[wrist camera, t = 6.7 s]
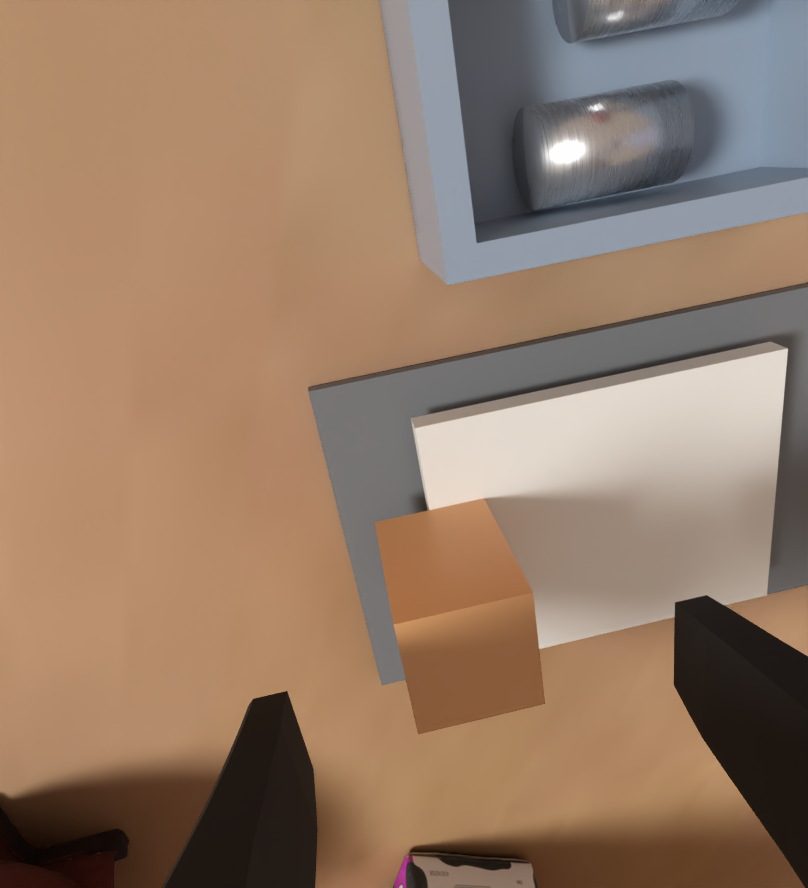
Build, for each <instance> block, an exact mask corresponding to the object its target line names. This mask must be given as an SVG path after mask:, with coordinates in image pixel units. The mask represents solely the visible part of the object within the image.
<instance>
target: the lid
mask: <svg viewBox="0 0 808 888" xmlns="http://www.w3.org/2000/svg"><path fill="white" fill-rule="evenodd" d="M787 354H788V348H786V347H783V346H781V345H778V344H776V343H773V342H766V343H761V344H757V345H752V346H747V347H743V348H738V349H733V350H729V351H724V352H719V353H714V354H710V355H705V356H700V357H696V358H691V359H686V360H682V361H677V362H672V363H668V364H663V365H658V366H653V367H649V368H644V369H639V370H635V371H630V372H625V373H621V374H616V375H611V376H606V377H602V378H597V379H592V380H588V381H583V382H578V383H574V384H569V385H564V386H560V387H555V388H550V389H545V390H541V391H536V392H531V393H527V394H522V395H517V396H513V397H508V398H503V399H499V400H494V401H489V402H484V403H480V404H475V405H470V406H466V407H461V408H456V409H452V410H447V411H442V412H437V413H433V414H428V415H423V416H419V417H414V418H411V422H412V428H413V433H414V439H415V444H416V450H417V455H418V461H419V467H420V472H421V478H422V483H423V489H424V494H425V500H426V505H427V511H423V512H419V513H414V514H410V515H405V516H401V517H396V518H392V519H387V520H383V521H378V522H374V523H375V528H376V533H377V539H378V544H379V550H380V555H381V560H382V566H383V571H384V577H385V582H386V587H387V593H388V598H389V603H390V609H391V614H392V620H393V625H394V629H395V634H396V638H397V643H398V647H399V651H400V656H401V660H402V665H403V669H404V673H405V678H406V682H407V687H408V691H409V696H410V700H411V704H412V709H413V713H414V718H415V722H416V726H417V731H418V734H421V733H425V732H430V731H434V730H438V729H442V728H446V727H450V726H455V725H459V724H463V723H467V722H471V721H475V720H480V719H484V718H488V717H492V716H496V715H500V714H505V713H509V712H513V711H517V710H521V709H525V708H530V707H534V706H538V705H542V704H545V699H544V690H543V681H542V671H541V662H540V652H539V649H541V648H545V647H550V646H554V645H558V644H562V643H567V642H571V641H575V640H579V639H584V638H588V637H592V636H596V635H601V634H605V633H609V632H613V631H618V630H622V629H626V628H630V627H635V626H639V625H643V624H647V623H652V622H656V621H660V620H664V619H669V618H673V617H675V602H679V601H683V600H688V599H692V598H696V597H701V596H705V595H707V596H709V597H711V598H713V599H714V600H716V601H718V602H719V603H721V604H723V605H728V604H732V603H737V602H741V601H745V600H749V599H754V598H758V597H762V596H766V595H767V588H768V577H769V565H770V553H771V541H772V530H773V518H774V506H775V495H776V483H777V471H778V460H779V448H780V436H781V425H782V413H783V401H784V390H785V378H786V366H787Z"/></svg>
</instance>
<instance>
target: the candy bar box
mask: <svg viewBox="0 0 808 888" xmlns="http://www.w3.org/2000/svg"><path fill="white" fill-rule="evenodd" d="M393 888H538V887H537V884H536V880H535V877H534V872H533V867H532V864H531V863H530V862H529V861H527V860H521V859H510V858H496V857H478V856H466V855H461V854H446V853H443V854H442V853H438V852H434V853H408V854H407V855H406V856H405V858H404V860H403V863H402V865H401V868H400V871H399V873H398V876H397V879H396V881H395V884H394V886H393Z"/></svg>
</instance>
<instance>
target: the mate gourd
mask: <svg viewBox="0 0 808 888" xmlns="http://www.w3.org/2000/svg"><path fill="white" fill-rule="evenodd" d="M128 843H129V840H128V838H127V836H126V835H125V833H124V832H123V831H121V830H119V829H117V830H112V831H108V832H103V833H100V834H96V835H93V836H89V837H85V838H82V839H78V840H75V841H71V842H68V843H64V844H60V845H57V846H53V847H48V848H44V849H40V850H38V849H34V848H31V846H30V845H29V844H28V843H27V842H26V841H25V839H24V838H23V837H22V836H21V834H20V833H19V832H18V830H17V829H16V828H15V826H14V825H13V824H12V822H11V821H10V820H9V818H8V817H7V816H6V815H5V813H4V812H3V811H2V809H1V808H0V888H114V862H115V861H117V860H120V859H123V858H126V857H127V850H128Z"/></svg>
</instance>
